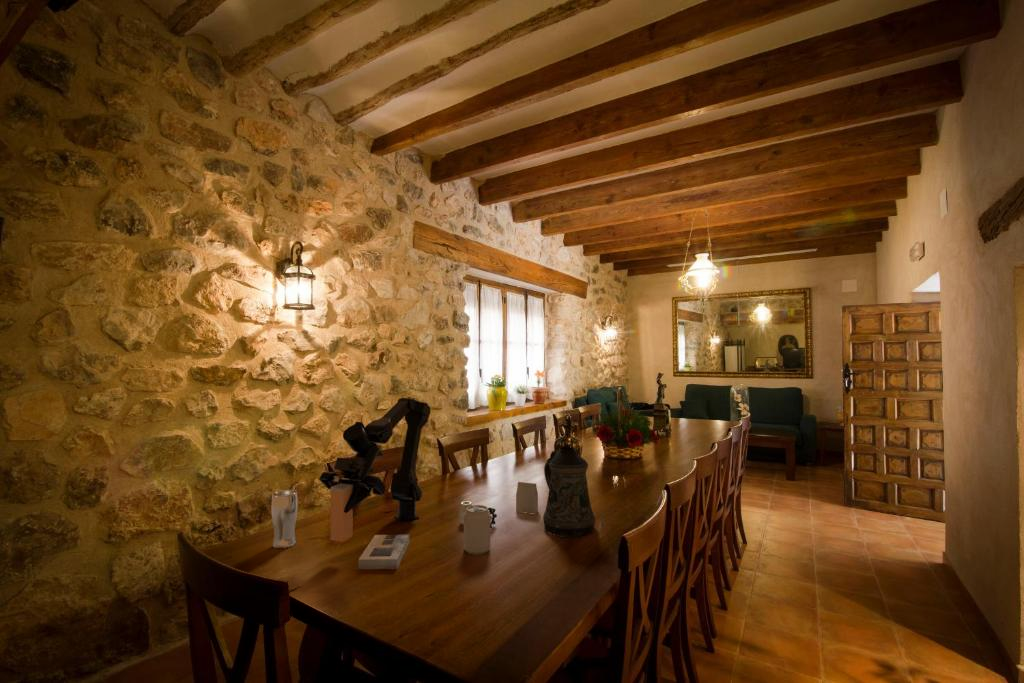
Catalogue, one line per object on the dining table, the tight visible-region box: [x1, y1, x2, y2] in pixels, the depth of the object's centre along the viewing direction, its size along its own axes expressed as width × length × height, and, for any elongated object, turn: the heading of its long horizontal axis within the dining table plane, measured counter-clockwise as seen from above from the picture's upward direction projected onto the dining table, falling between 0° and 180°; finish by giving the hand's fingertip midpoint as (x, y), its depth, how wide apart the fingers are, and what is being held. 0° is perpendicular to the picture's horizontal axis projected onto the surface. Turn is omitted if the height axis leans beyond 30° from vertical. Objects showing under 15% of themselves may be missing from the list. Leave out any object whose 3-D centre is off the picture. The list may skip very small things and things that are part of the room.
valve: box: [459, 500, 498, 528], centre depth 156 cm, size 7×7×12 cm
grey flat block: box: [357, 534, 410, 570], centre depth 133 cm, size 16×10×3 cm, turn 1°
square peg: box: [329, 484, 354, 542], centre depth 131 cm, size 4×4×14 cm
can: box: [463, 504, 491, 556], centre depth 137 cm, size 8×8×12 cm
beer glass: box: [271, 489, 299, 549], centre depth 141 cm, size 7×7×15 cm
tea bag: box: [515, 481, 539, 515], centre depth 169 cm, size 4×7×10 cm, turn 67°
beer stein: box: [542, 446, 596, 538], centre depth 154 cm, size 16×19×25 cm
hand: (338, 511), depth 130 cm, fingers closed on square peg, 4 cm apart
